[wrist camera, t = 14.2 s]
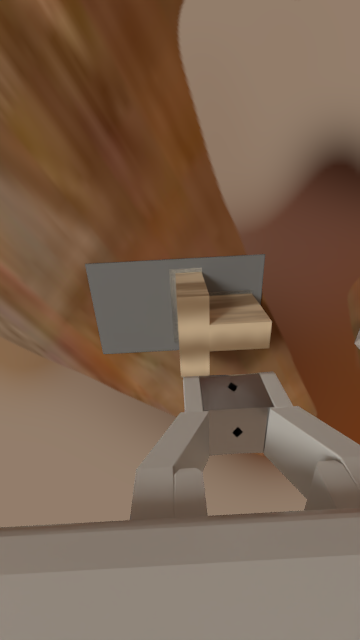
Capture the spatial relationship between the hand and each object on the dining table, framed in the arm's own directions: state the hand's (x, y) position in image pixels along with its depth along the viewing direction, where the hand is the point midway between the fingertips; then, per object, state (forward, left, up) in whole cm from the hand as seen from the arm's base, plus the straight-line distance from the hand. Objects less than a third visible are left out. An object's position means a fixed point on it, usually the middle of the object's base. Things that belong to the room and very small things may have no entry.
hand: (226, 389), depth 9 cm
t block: (+12, +4, -34) cm, 36 cm away
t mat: (+12, -2, -34) cm, 36 cm away
